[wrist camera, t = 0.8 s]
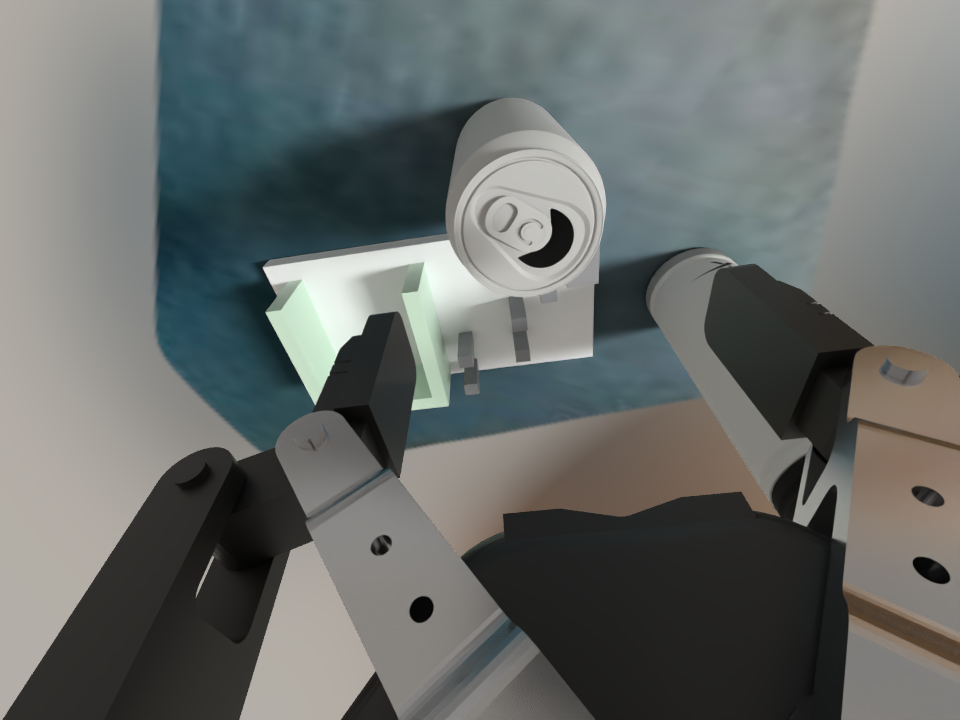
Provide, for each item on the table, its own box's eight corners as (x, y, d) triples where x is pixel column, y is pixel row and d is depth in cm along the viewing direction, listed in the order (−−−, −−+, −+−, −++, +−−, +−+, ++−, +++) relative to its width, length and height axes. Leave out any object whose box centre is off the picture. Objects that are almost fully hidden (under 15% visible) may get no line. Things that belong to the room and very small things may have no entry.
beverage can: (523, 229, 28) (549, 329, 18) (436, 178, 26) (414, 262, 16) (583, 136, 24) (653, 200, 15) (489, 69, 22) (500, 95, 13)
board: (269, 259, 29) (242, 288, 26) (591, 211, 27) (607, 236, 24) (327, 379, 36) (312, 414, 32) (589, 347, 34) (601, 381, 31)
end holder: (288, 281, 29) (265, 312, 25) (424, 262, 28) (418, 291, 25) (337, 384, 34) (323, 420, 31) (451, 371, 34) (448, 406, 30)
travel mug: (697, 225, 28) (991, 476, 12) (751, 280, 30) (1051, 547, 15) (623, 291, 31) (781, 562, 15) (678, 336, 33) (862, 609, 18)
